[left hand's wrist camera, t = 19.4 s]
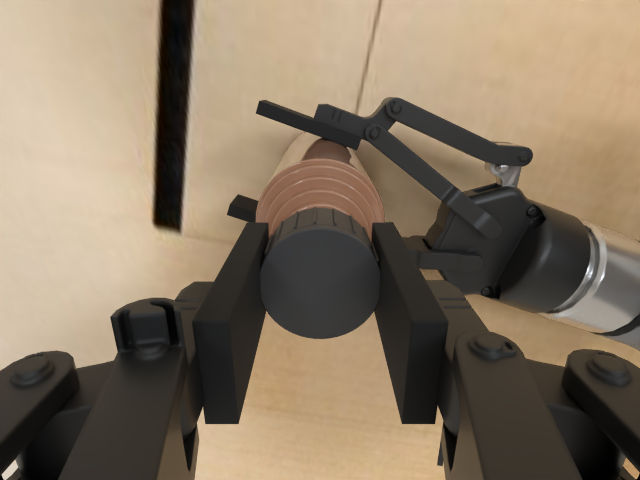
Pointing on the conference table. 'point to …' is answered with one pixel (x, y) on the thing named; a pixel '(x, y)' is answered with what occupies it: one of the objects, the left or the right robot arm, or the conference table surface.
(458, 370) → the left robot arm
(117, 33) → the conference table surface
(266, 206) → the bottle
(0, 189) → the conference table surface
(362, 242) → the cap
